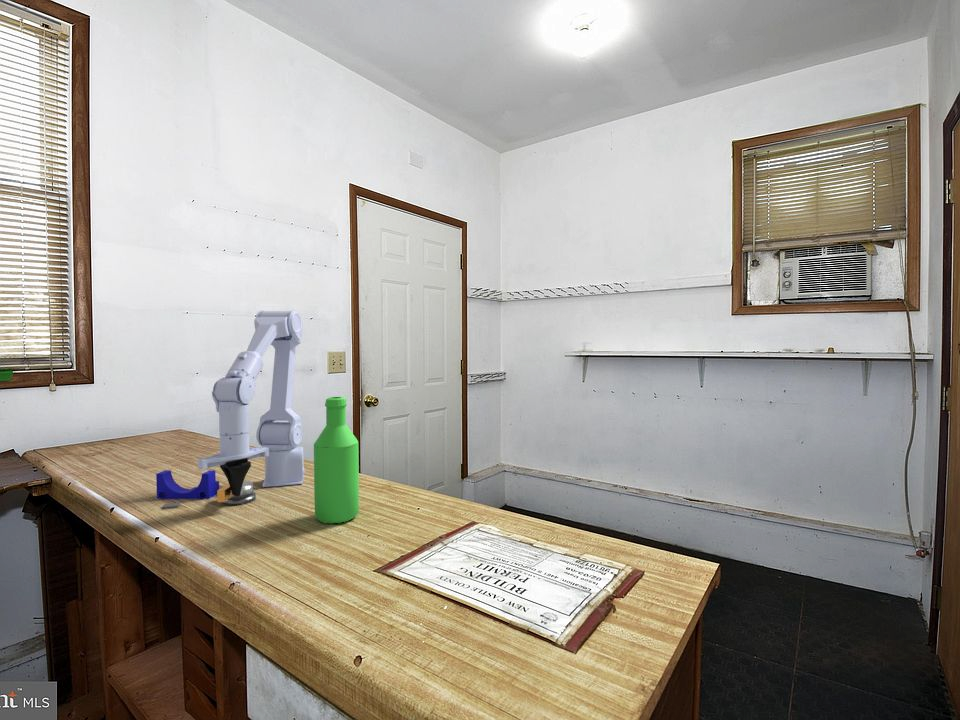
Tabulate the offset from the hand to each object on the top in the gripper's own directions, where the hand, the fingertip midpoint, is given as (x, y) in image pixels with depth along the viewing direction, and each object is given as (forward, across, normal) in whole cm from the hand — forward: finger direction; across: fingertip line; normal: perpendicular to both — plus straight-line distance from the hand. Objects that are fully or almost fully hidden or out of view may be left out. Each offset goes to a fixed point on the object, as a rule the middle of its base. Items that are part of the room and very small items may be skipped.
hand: (235, 495), depth 104 cm
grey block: (+3, +7, -13) cm, 16 cm away
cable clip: (+3, +2, -18) cm, 19 cm away
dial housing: (+3, -4, -5) cm, 7 cm away
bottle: (+3, -10, +22) cm, 24 cm away
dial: (+2, -1, -4) cm, 4 cm away
